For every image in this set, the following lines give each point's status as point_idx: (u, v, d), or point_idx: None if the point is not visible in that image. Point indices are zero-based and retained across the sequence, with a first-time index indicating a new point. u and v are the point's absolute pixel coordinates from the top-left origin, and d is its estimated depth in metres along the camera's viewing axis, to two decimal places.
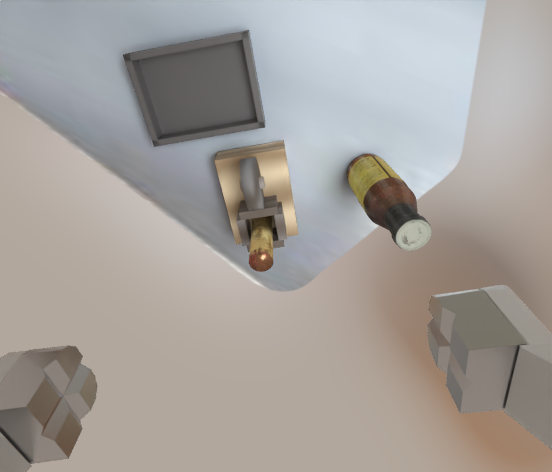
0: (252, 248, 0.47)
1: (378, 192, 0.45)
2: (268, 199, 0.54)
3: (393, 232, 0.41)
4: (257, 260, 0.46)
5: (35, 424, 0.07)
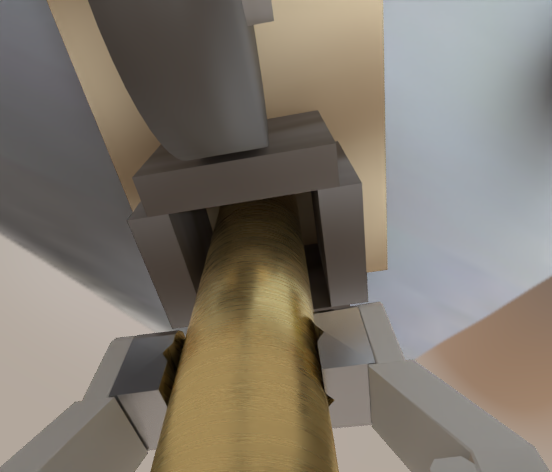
0: None
1: None
2: (285, 123, 0.12)
3: None
4: None
5: (162, 408, 0.07)
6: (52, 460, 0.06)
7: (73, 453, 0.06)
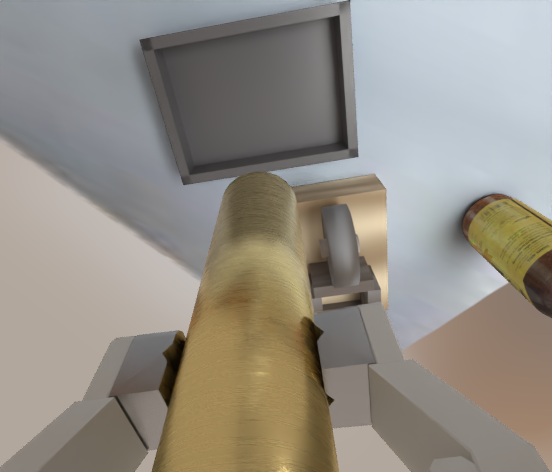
0: None
1: None
2: None
3: None
4: None
5: (162, 408, 0.07)
6: (52, 460, 0.06)
7: (73, 453, 0.06)
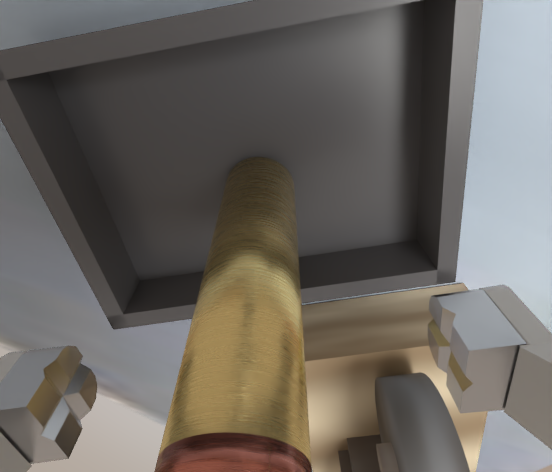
0: (179, 406, 0.07)
1: None
2: None
3: None
4: None
5: (35, 424, 0.07)
6: None
7: None
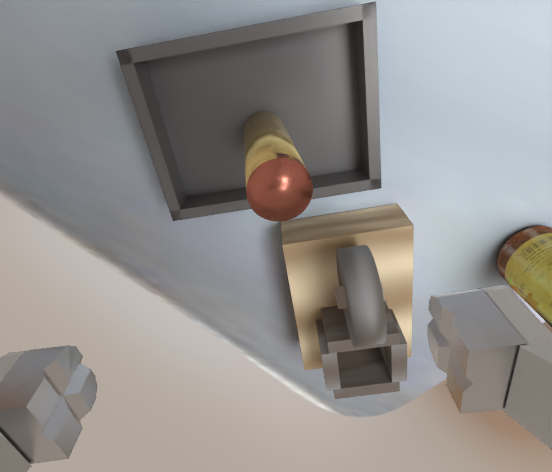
0: (253, 159, 0.17)
1: None
2: None
3: None
4: (269, 187, 0.16)
5: (35, 424, 0.07)
6: None
7: None
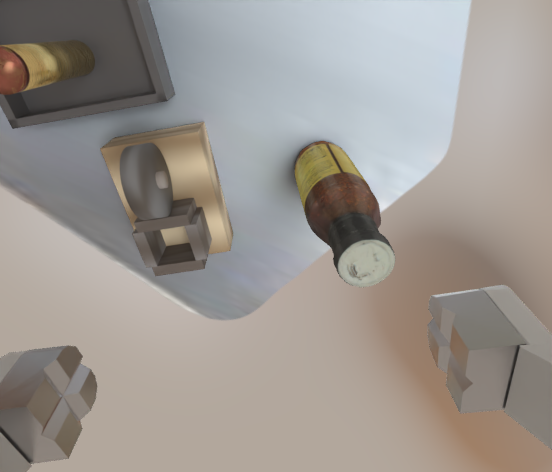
0: None
1: (320, 195, 0.30)
2: (181, 203, 0.39)
3: (335, 258, 0.26)
4: None
5: (35, 424, 0.07)
6: None
7: None
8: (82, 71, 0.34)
